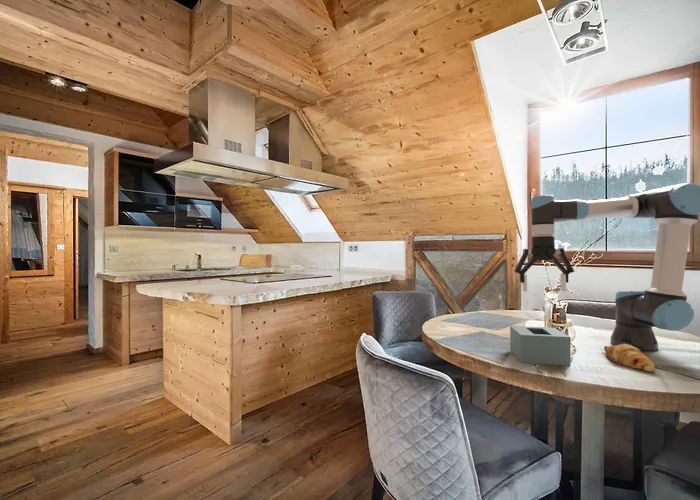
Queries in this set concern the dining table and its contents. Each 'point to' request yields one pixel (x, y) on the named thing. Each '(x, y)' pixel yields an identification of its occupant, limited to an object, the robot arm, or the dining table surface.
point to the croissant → (629, 357)
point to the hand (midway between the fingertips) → (543, 291)
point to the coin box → (540, 345)
